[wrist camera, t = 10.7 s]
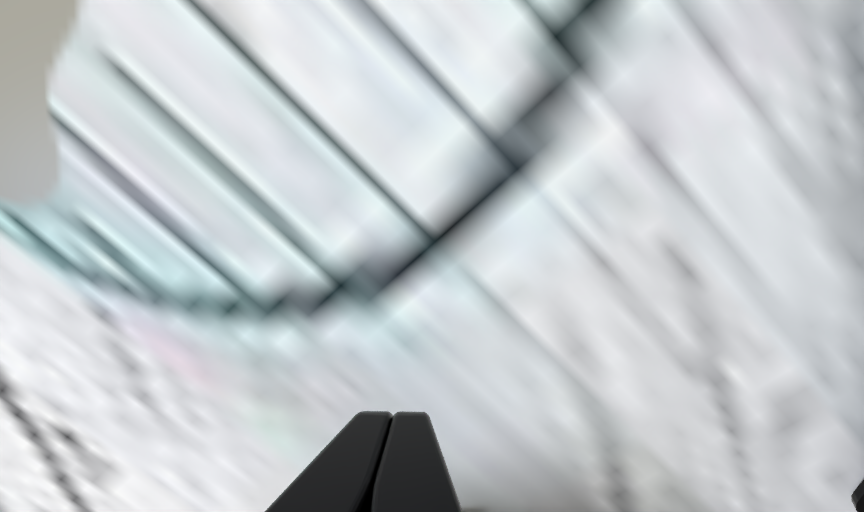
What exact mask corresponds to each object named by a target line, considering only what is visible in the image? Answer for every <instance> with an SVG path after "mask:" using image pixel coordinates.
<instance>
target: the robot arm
mask: <svg viewBox="0 0 864 512" xmlns="http://www.w3.org/2000/svg"><path fill="white" fill-rule="evenodd" d="M851 497H852V502H853V504H854V506H855V508H856V510H857V512H864V480H863V481H862V483H861V484H860V485H859V486H858V487H857V488H856V490H855V491H854V492H853V494H852V496H851ZM265 512H462V509H461V506H460V503H459V500H458V498H457V495H456V492H455V489H454V486H453V483H452V480H451V477H450V475H449V472H448V469H447V466H446V463H445V460H444V457H443V455H442V452H441V449H440V446H439V443H438V440H437V437H436V435H435V432H434V429H433V426H432V423H431V420H430V417H429V416H428V414H427V413H425V412H397V413H396V414H394V416H393V415H392V414H391V413H390V412H383V411H363V412H360V413H358V414H356V415H355V416H354V417H353V418H352V420H351V421H350V422H349V423H348V424H347V425H346V426H345V427H344V428H343V429H342V430H341V431H340V432H339V433H338V434H337V435H336V437H335V438H334V439H333V440H332V441H331V442H330V443H329V444H328V445H327V446H326V447H325V448H324V449H323V450H322V451H321V452H320V454H319V455H318V456H317V457H316V458H315V459H314V460H313V461H312V462H311V463H310V464H309V465H308V466H307V467H306V468H305V469H304V471H303V472H302V473H301V474H300V475H299V476H298V477H297V478H296V479H295V480H294V481H293V482H292V483H291V484H290V485H289V486H288V488H287V489H286V490H285V491H284V492H283V493H282V494H281V495H280V496H279V497H278V498H277V499H276V500H275V501H274V502H273V503H272V505H271V506H270V507H269V508H268V509H267V510H266V511H265Z"/></svg>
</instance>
